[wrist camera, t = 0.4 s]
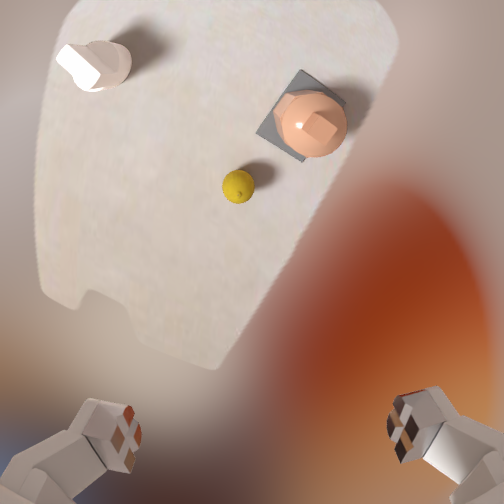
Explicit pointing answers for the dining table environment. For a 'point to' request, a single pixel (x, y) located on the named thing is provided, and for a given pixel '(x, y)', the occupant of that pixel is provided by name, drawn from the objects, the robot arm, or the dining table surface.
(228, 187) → the lemon
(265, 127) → the mat
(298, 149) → the cloche
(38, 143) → the dining table surface
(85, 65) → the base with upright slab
